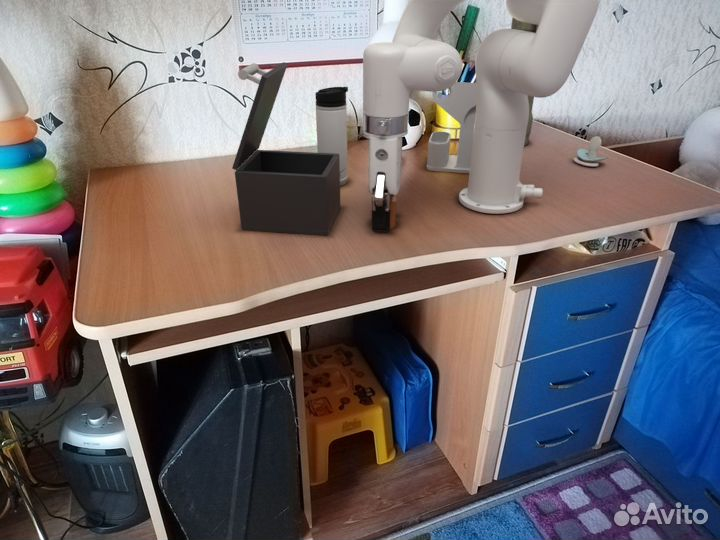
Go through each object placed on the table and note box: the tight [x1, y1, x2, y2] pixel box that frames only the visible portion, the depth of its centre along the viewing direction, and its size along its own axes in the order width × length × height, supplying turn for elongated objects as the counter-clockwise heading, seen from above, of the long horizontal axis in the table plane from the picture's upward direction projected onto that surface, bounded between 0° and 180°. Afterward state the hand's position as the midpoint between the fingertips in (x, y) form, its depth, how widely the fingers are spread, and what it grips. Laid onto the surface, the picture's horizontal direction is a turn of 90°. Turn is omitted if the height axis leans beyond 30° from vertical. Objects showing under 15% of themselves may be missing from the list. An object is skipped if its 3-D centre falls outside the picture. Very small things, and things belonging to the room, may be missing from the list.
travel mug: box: [315, 86, 349, 187], centre depth 112 cm, size 6×7×20 cm
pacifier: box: [573, 135, 609, 168], centre depth 126 cm, size 7×6×6 cm
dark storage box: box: [234, 149, 341, 237], centre depth 99 cm, size 16×12×11 cm
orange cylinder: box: [370, 195, 397, 230], centre depth 98 cm, size 4×4×5 cm
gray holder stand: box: [425, 81, 477, 174], centre depth 122 cm, size 17×10×18 cm, turn 76°
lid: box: [231, 61, 289, 171], centre depth 92 cm, size 17×12×5 cm
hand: (383, 220), depth 99 cm, fingers open, 6 cm apart
